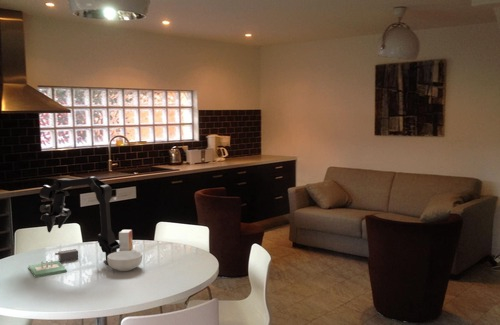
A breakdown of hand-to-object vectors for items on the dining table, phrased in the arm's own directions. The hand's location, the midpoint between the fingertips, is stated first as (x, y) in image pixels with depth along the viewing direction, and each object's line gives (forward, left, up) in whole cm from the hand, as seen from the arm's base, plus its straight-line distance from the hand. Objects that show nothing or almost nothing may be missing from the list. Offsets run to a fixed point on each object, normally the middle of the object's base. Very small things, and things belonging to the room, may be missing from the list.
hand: (54, 230), depth 262 cm
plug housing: (-8, -5, -15) cm, 18 cm away
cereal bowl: (-41, -24, -15) cm, 50 cm away
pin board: (-20, +8, -15) cm, 26 cm away
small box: (-6, -37, -15) cm, 40 cm away
